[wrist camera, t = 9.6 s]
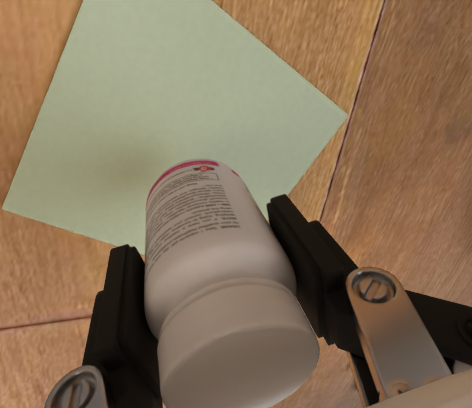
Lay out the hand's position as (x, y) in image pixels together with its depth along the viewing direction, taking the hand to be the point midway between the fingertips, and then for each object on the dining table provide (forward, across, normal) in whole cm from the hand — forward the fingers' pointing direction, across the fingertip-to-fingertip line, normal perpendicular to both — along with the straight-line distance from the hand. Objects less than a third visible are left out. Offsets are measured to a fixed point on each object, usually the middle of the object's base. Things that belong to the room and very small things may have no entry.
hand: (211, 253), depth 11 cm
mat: (+10, 0, 0) cm, 10 cm away
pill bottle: (+4, 0, 0) cm, 4 cm away
